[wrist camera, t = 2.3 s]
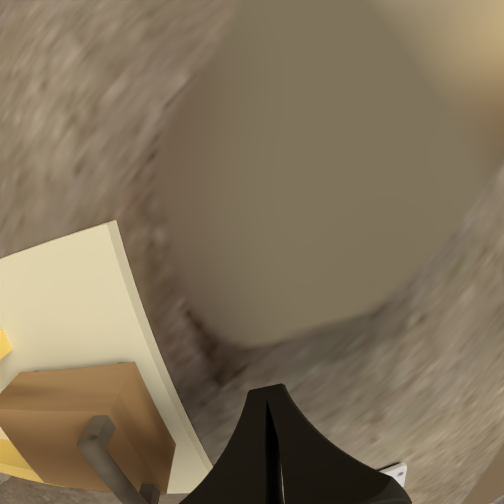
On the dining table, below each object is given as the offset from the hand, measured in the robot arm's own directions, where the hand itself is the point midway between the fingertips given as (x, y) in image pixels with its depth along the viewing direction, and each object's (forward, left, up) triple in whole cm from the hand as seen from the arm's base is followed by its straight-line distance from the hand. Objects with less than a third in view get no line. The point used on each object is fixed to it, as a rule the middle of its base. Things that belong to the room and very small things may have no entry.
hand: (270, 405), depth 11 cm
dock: (0, +13, -3) cm, 13 cm away
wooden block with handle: (0, +8, -2) cm, 9 cm away
